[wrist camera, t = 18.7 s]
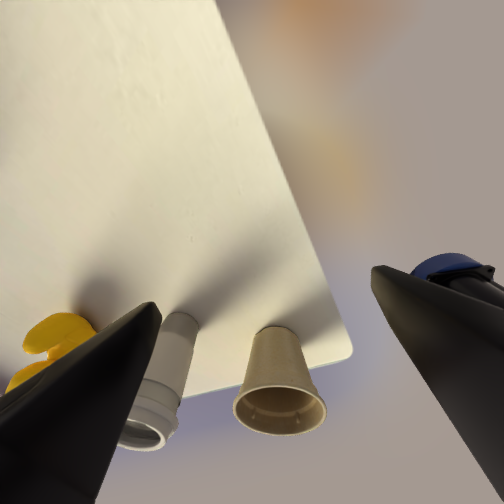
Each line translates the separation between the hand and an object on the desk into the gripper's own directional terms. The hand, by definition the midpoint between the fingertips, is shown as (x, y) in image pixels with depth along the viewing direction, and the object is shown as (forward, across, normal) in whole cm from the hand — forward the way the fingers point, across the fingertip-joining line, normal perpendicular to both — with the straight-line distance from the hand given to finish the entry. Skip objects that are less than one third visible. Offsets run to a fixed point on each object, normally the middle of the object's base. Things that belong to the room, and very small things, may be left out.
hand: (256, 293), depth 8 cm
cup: (+13, +14, +14) cm, 23 cm away
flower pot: (+13, +2, +19) cm, 23 cm away
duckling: (+13, +28, +12) cm, 33 cm away
